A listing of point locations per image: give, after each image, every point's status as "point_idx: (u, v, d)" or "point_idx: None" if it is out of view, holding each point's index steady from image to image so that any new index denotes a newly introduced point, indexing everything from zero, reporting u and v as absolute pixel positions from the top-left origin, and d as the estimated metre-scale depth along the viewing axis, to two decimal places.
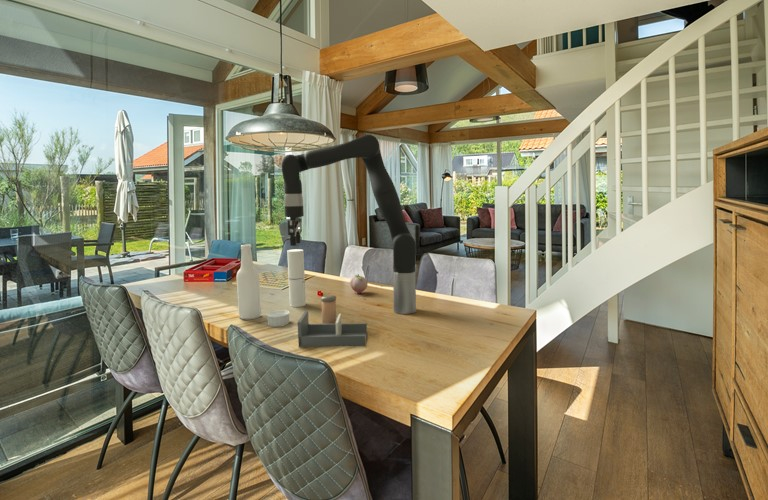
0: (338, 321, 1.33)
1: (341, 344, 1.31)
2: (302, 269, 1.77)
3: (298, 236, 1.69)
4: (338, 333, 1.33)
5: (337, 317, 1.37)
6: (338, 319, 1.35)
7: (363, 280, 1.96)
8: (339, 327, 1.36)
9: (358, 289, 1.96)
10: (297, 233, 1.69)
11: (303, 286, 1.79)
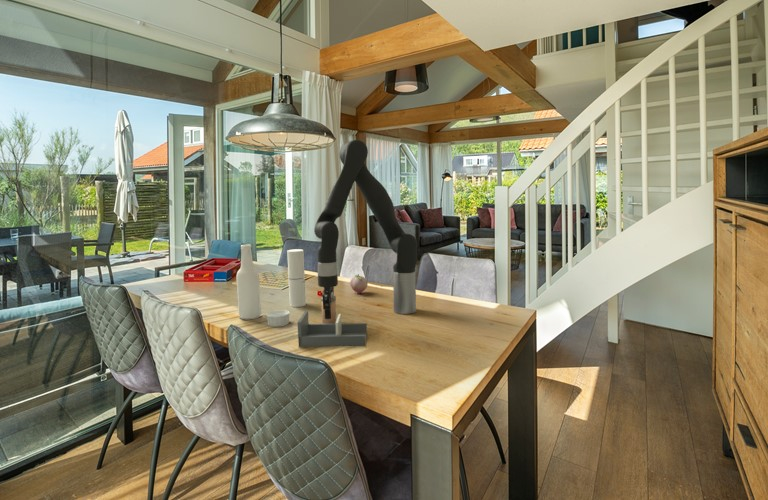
0: (338, 321, 1.33)
1: (341, 344, 1.31)
2: (302, 269, 1.77)
3: None
4: (338, 333, 1.33)
5: (337, 317, 1.37)
6: (338, 319, 1.35)
7: (363, 280, 1.96)
8: (339, 327, 1.36)
9: (358, 289, 1.96)
10: None
11: (303, 286, 1.79)
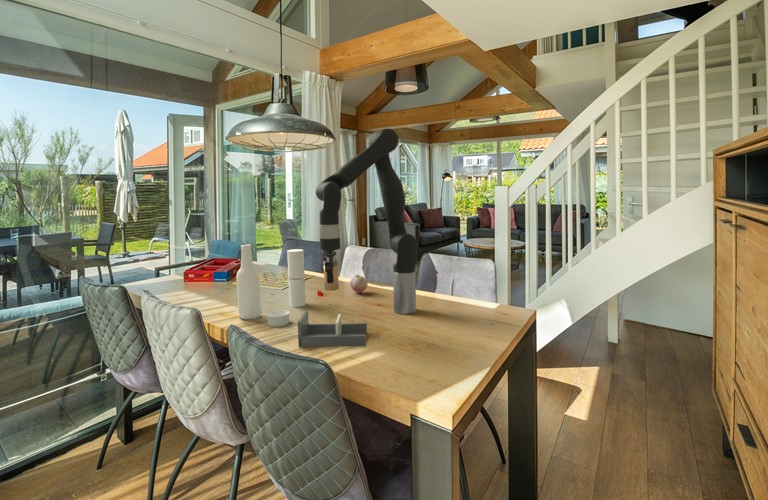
0: (338, 321, 1.33)
1: (341, 344, 1.31)
2: (302, 269, 1.77)
3: None
4: (338, 333, 1.33)
5: (337, 317, 1.37)
6: (338, 319, 1.35)
7: (363, 280, 1.96)
8: (339, 327, 1.36)
9: (358, 289, 1.96)
10: None
11: (303, 286, 1.79)
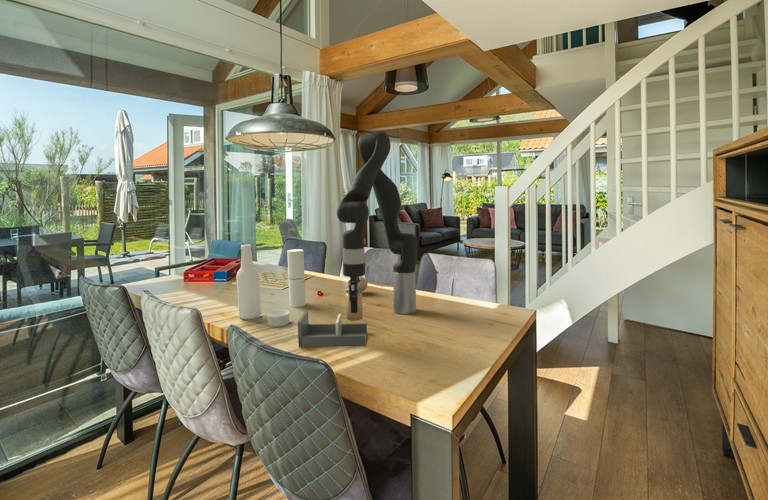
0: (338, 321, 1.33)
1: (341, 344, 1.31)
2: (302, 269, 1.77)
3: None
4: (338, 333, 1.33)
5: (337, 317, 1.37)
6: (338, 319, 1.35)
7: (363, 280, 1.96)
8: (339, 327, 1.36)
9: None
10: None
11: (303, 286, 1.79)
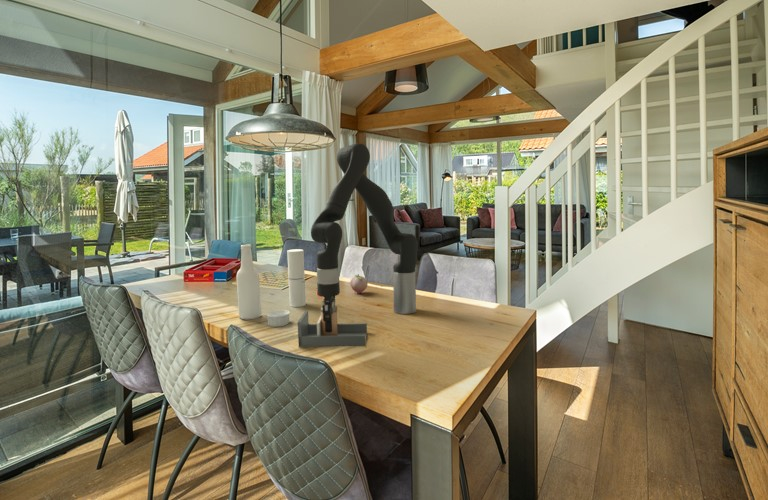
0: (320, 321, 1.33)
1: (341, 344, 1.31)
2: (302, 269, 1.77)
3: None
4: (319, 333, 1.33)
5: None
6: (320, 319, 1.35)
7: (363, 280, 1.96)
8: (321, 327, 1.36)
9: (358, 289, 1.96)
10: None
11: (303, 286, 1.79)
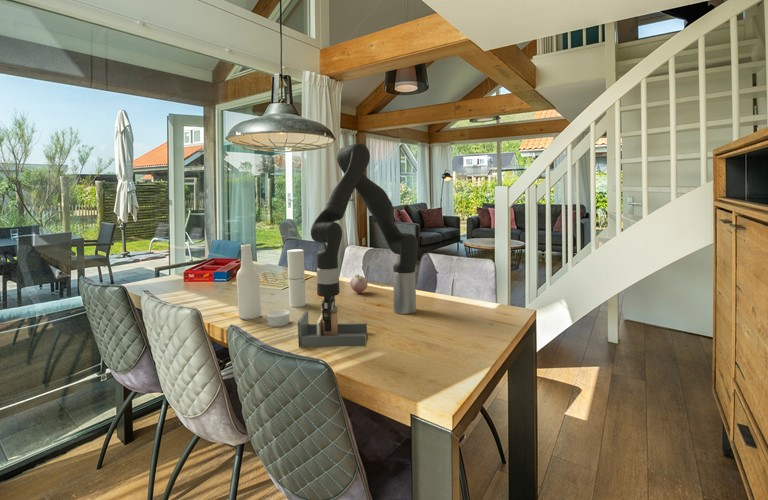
0: (319, 321, 1.33)
1: (341, 344, 1.31)
2: (302, 269, 1.77)
3: None
4: (319, 333, 1.33)
5: None
6: (320, 319, 1.35)
7: (363, 280, 1.96)
8: (321, 327, 1.36)
9: (358, 289, 1.96)
10: None
11: (303, 286, 1.79)
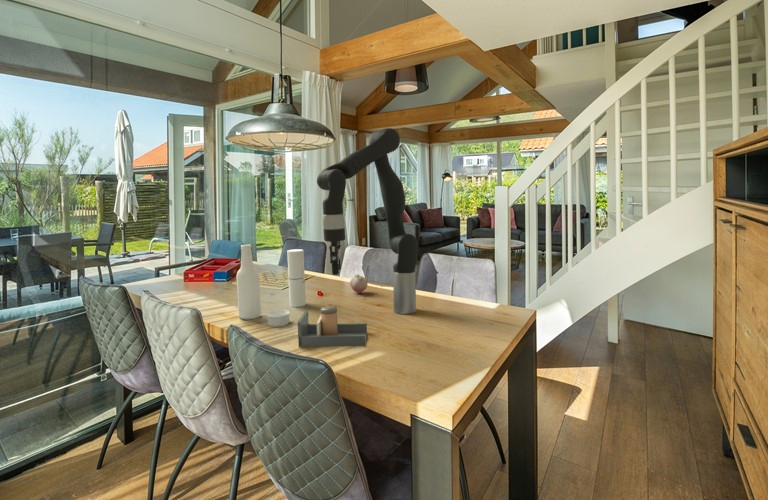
0: (319, 321, 1.33)
1: (341, 344, 1.31)
2: (302, 269, 1.77)
3: (338, 262, 1.46)
4: (319, 333, 1.33)
5: (319, 317, 1.37)
6: (320, 319, 1.35)
7: (363, 280, 1.96)
8: (321, 327, 1.36)
9: (358, 289, 1.96)
10: None
11: (303, 286, 1.79)
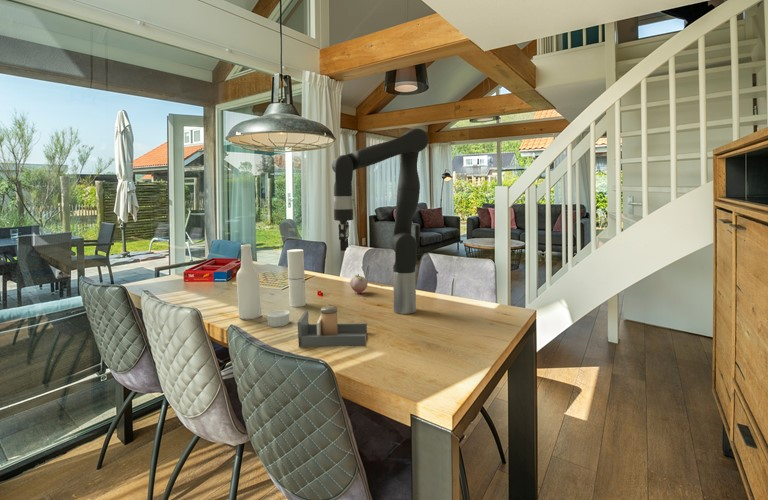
0: (319, 321, 1.33)
1: (341, 344, 1.31)
2: (302, 269, 1.77)
3: (346, 240, 1.61)
4: (319, 333, 1.33)
5: (319, 317, 1.37)
6: (320, 319, 1.35)
7: (363, 280, 1.96)
8: (321, 327, 1.36)
9: (358, 289, 1.96)
10: None
11: (303, 286, 1.79)
